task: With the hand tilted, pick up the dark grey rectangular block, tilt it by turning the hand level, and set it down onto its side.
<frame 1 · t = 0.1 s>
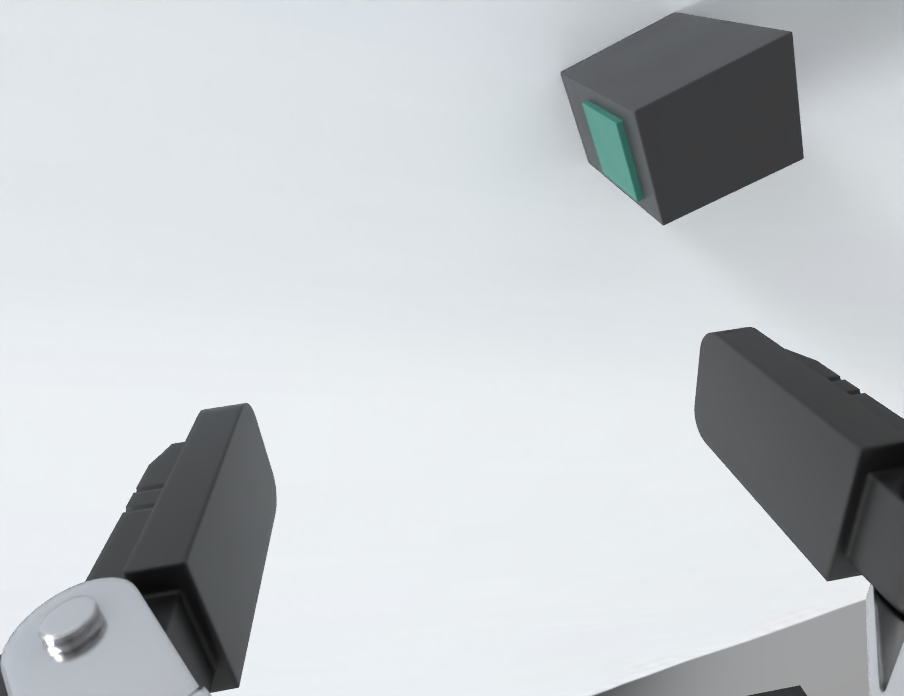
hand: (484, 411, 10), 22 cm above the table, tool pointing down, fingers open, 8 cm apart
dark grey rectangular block: (629, 92, 30), on the table
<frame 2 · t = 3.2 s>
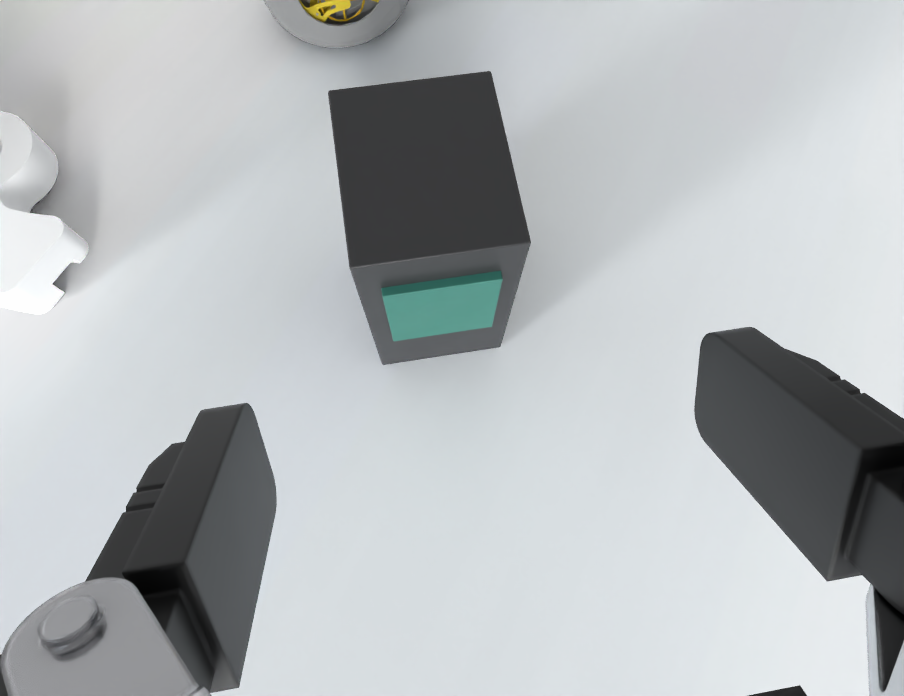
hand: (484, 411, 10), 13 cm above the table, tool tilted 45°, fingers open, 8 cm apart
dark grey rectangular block: (430, 291, 25), on the table
pocket watch: (341, 24, 30), on the table
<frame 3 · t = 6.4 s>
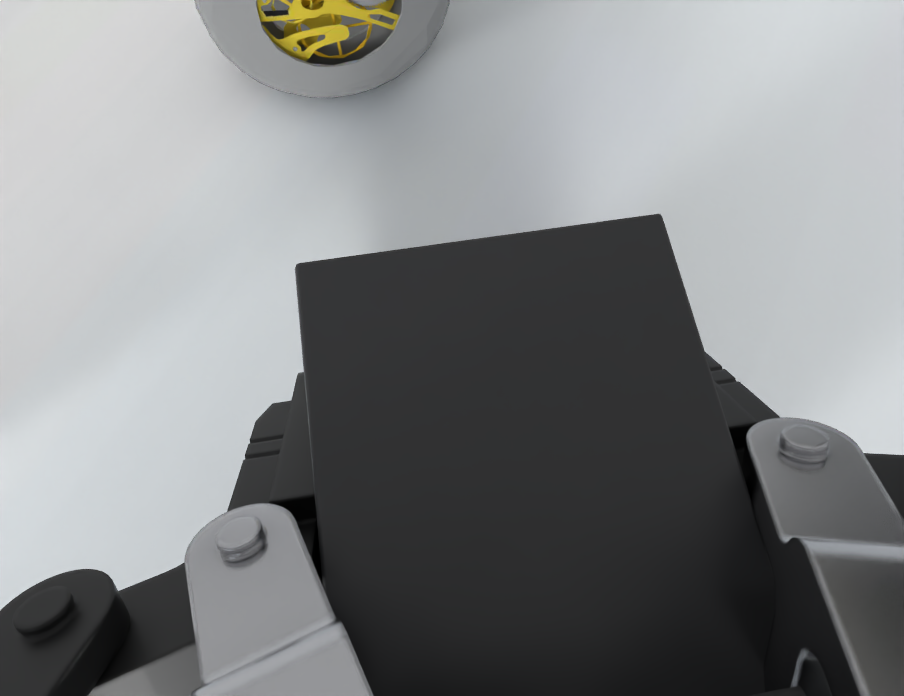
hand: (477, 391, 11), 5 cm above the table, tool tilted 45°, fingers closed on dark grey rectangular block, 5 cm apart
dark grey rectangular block: (480, 507, 15), on the table, touching gripper
pocket watch: (335, 58, 20), on the table
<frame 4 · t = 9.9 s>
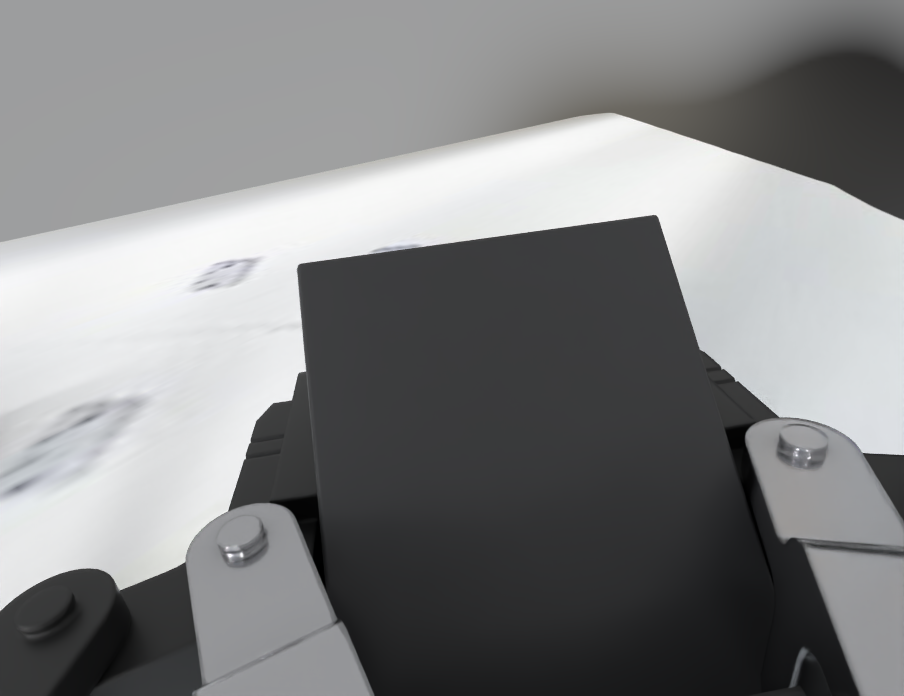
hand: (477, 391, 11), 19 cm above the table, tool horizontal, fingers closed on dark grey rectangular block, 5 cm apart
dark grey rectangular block: (479, 505, 16), point 14 cm above the table, tilted 44°, touching gripper
when the fingers open (7 cm above the table, at t = 13.7 s): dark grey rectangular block moves 2 cm and tips over, point 3 cm above the table.
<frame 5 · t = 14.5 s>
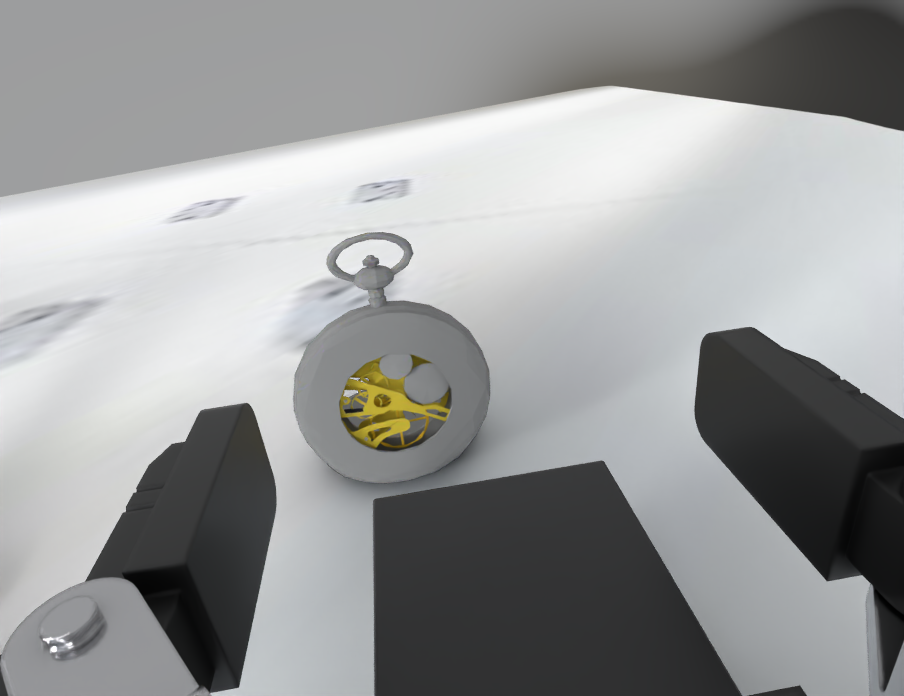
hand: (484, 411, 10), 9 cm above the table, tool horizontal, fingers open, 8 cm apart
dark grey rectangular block: (499, 578, 14), point 3 cm above the table, tilted 90°
pocket watch: (400, 461, 24), on the table
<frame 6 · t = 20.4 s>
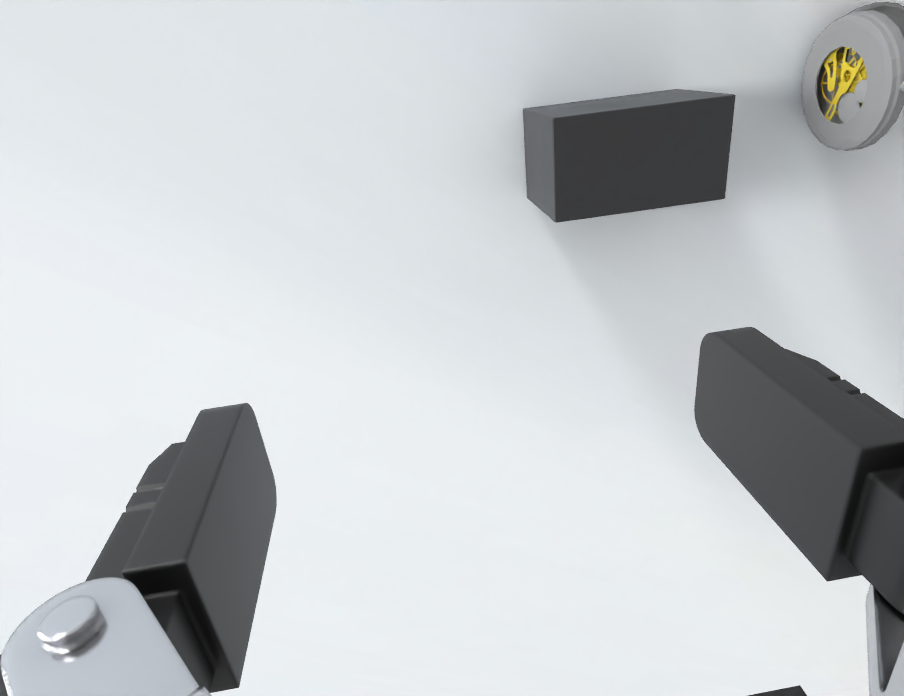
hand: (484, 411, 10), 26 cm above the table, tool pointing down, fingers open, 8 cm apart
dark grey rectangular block: (700, 141, 32), point 3 cm above the table, tilted 90°
pocket watch: (834, 70, 34), on the table
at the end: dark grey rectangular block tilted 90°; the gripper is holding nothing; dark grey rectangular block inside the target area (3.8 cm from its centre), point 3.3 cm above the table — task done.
